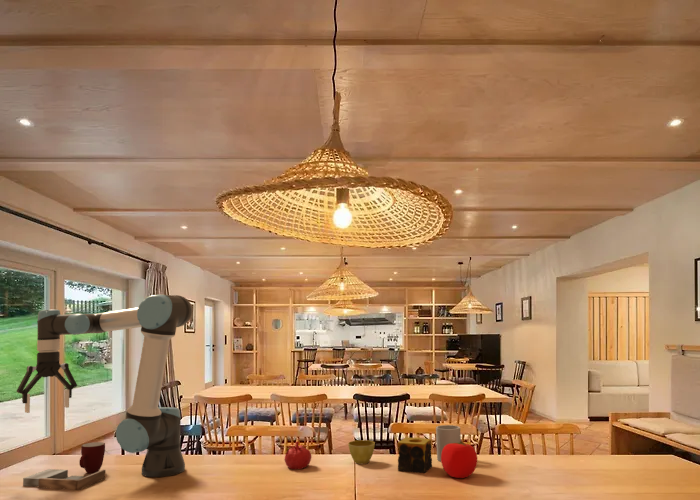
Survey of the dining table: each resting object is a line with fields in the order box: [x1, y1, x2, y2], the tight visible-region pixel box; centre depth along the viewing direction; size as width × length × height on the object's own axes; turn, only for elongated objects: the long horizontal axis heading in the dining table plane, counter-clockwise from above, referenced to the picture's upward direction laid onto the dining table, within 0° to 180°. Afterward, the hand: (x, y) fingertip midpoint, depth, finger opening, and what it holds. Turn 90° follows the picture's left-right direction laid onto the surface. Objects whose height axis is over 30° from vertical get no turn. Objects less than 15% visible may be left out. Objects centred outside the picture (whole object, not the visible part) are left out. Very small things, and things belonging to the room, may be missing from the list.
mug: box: [78, 441, 106, 475], centre depth 217 cm, size 10×8×10 cm
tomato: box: [441, 440, 478, 479], centre depth 203 cm, size 12×14×11 cm
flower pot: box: [347, 439, 376, 465], centre depth 224 cm, size 10×10×7 cm
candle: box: [397, 436, 433, 474], centre depth 214 cm, size 10×10×10 cm
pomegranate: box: [283, 441, 312, 470], centre depth 220 cm, size 10×10×9 cm
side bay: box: [22, 468, 106, 491], centre depth 206 cm, size 23×14×3 cm, turn 76°
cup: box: [435, 424, 462, 463], centre depth 226 cm, size 9×9×12 cm
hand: (47, 409), depth 218 cm, fingers open, 13 cm apart
